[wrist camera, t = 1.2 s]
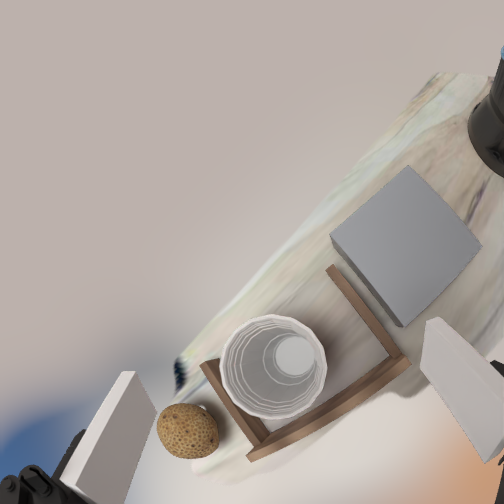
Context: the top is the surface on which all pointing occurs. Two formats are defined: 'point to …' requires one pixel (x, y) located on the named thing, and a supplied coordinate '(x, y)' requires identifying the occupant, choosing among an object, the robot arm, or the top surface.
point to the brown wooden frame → (332, 407)
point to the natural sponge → (188, 431)
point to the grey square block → (405, 245)
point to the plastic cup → (273, 367)
